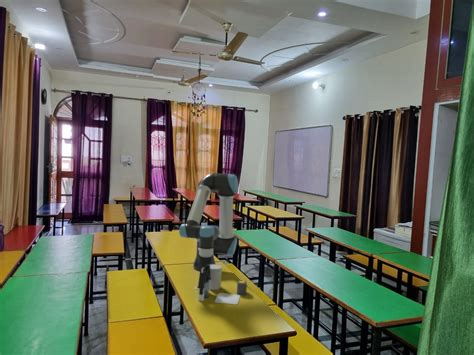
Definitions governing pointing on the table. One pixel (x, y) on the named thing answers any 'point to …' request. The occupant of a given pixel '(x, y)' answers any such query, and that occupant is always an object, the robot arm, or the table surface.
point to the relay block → (241, 287)
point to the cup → (215, 277)
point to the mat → (227, 298)
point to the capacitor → (206, 289)
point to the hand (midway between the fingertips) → (203, 295)
